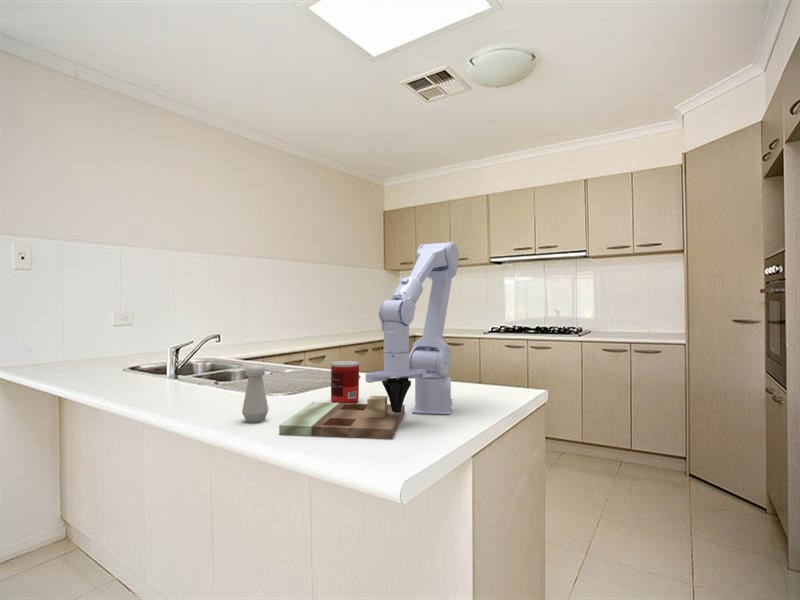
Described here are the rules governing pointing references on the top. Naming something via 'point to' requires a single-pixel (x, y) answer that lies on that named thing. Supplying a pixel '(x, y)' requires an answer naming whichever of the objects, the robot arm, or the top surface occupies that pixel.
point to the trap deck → (341, 421)
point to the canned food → (345, 382)
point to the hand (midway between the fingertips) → (396, 411)
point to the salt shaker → (255, 395)
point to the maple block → (377, 406)
